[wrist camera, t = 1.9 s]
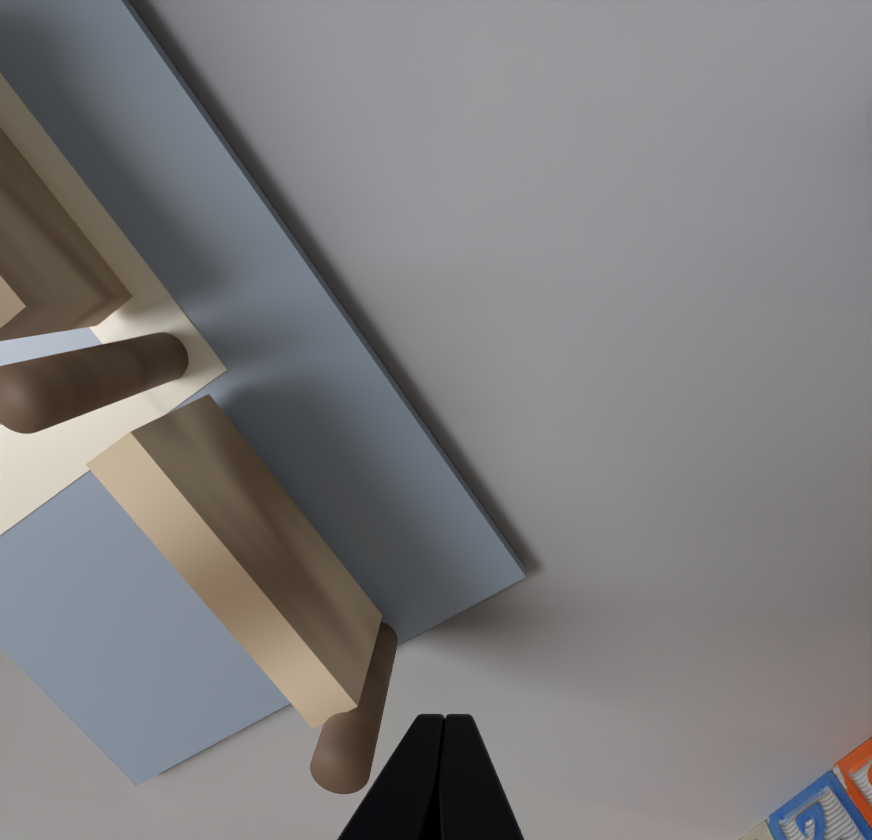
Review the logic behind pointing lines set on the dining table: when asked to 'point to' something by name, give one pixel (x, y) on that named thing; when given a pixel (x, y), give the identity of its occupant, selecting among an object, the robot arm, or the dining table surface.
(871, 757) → the stack of blocks
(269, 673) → the bar
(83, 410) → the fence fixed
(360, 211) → the dining table surface
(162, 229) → the mat
